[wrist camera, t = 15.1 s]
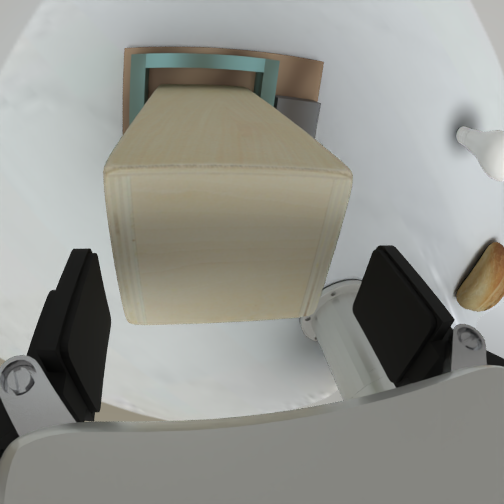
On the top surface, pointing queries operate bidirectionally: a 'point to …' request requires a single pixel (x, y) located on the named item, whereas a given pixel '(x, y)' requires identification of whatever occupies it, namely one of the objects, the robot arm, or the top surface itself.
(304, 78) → the board
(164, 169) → the beige long rectangular block
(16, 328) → the top surface
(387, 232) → the top surface
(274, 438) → the robot arm
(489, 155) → the lightbulb
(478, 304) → the bread roll
